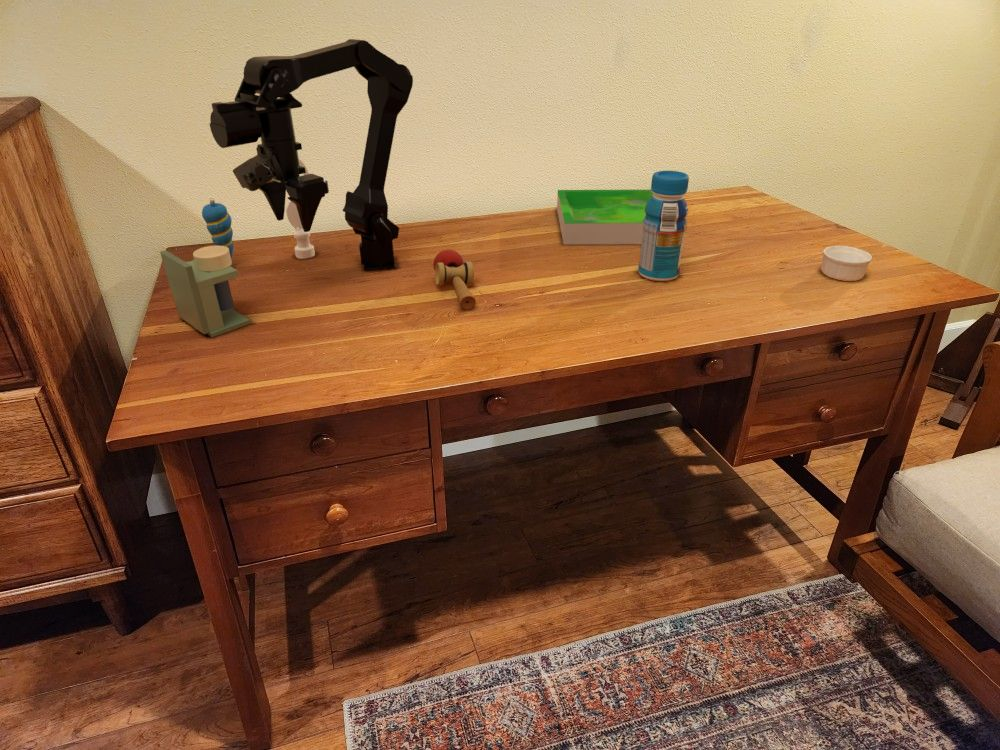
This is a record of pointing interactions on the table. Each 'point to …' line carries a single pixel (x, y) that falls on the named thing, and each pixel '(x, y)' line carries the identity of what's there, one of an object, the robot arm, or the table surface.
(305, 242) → the decorative finial
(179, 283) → the stand
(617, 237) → the tray
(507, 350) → the table surface
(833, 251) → the ramekin
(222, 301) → the peg
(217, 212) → the ornament
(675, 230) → the beverage bottle
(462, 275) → the kendama
